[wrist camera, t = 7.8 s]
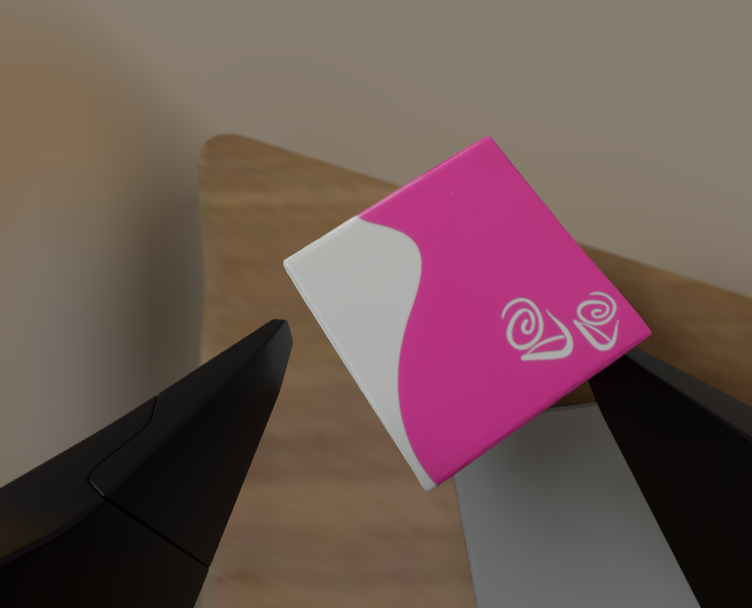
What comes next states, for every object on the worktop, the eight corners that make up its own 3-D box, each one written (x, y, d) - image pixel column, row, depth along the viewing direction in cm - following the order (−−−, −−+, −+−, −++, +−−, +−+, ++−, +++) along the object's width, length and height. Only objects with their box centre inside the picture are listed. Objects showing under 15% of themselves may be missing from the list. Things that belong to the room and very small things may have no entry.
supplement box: (399, 399, 16) (419, 510, 5) (348, 317, 17) (265, 249, 6) (479, 346, 16) (673, 334, 5) (423, 268, 17) (483, 115, 6)
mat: (764, 671, 13) (789, 691, 12) (493, 699, 13) (500, 721, 12) (671, 391, 15) (687, 393, 14) (444, 422, 16) (447, 426, 15)
